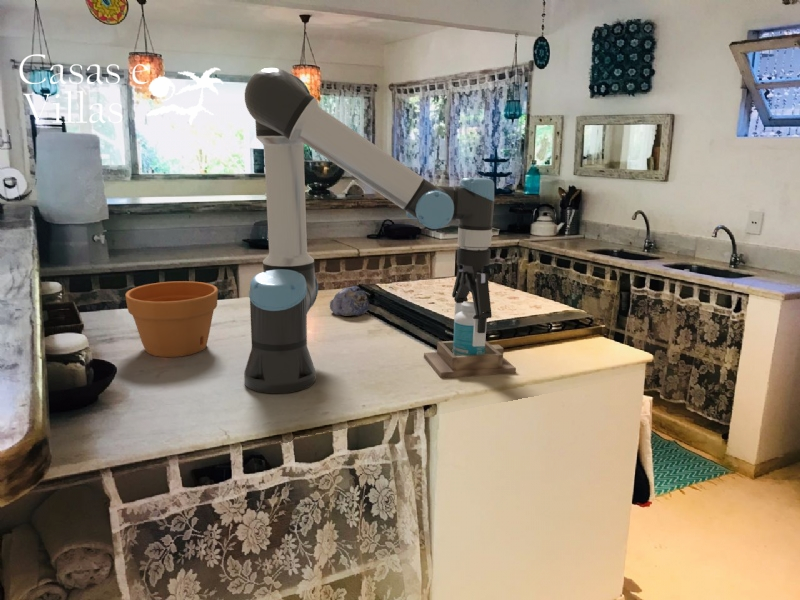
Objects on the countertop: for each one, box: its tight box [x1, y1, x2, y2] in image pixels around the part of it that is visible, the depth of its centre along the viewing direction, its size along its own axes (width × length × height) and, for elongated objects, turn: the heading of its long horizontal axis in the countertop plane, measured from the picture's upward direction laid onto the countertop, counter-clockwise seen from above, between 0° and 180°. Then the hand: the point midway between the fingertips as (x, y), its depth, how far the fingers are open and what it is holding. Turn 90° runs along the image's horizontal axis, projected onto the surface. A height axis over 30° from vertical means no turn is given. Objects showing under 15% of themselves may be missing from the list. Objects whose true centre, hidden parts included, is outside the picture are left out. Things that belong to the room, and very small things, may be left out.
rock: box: [329, 285, 370, 317], centre depth 196 cm, size 11×10×10 cm
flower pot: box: [125, 280, 219, 358], centre depth 158 cm, size 21×21×15 cm
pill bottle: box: [453, 301, 485, 356], centre depth 151 cm, size 8×7×14 cm
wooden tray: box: [423, 339, 517, 378], centre depth 152 cm, size 18×14×4 cm
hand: (468, 337), depth 151 cm, fingers open, 13 cm apart
